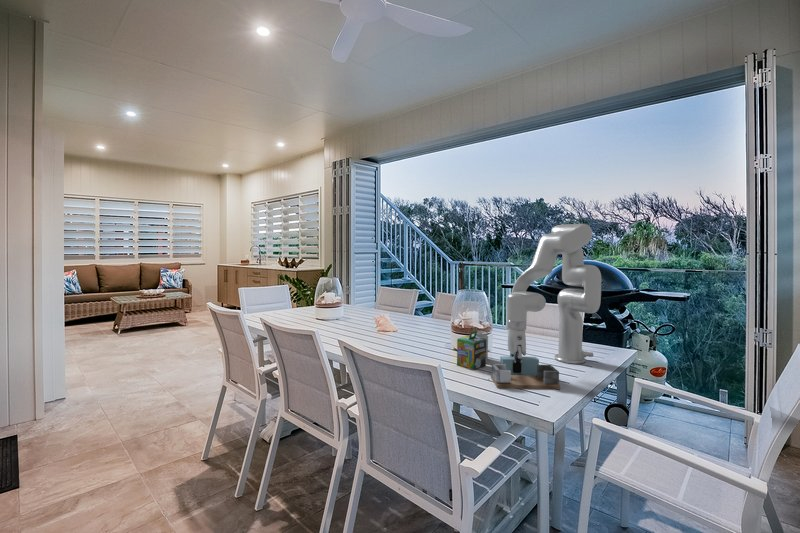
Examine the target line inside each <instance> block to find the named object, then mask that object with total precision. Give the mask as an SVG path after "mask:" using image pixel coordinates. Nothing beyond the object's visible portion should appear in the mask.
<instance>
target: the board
mask: <svg viewBox="0 0 800 533" xmlns="http://www.w3.org/2000/svg"><path fill="white" fill-rule="evenodd" d="M490 379H491V381H492V382H493V384H494V386H495V387H496V388H497V389H530V390H531V389H532V390H533V389H537V390H538V389H539V390H541V389H542V390H560V389H561V385H560V384H559V383H560V371H559V370H558V369H556V368H555V367H554V366H553V365H552V364H539V365H537V375H517V374H511V383H496V381H495V379H494V378H493V376H492V374H490Z"/></svg>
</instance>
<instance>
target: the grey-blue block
mask: <svg viewBox="0 0 800 533" xmlns="http://www.w3.org/2000/svg"><path fill="white" fill-rule="evenodd" d="M499 360H500V363H499V364H505V365H506V370H510V371H511V375H517V374H523V375H537V365H540V360H539V358H537V357H536V356H522V364H521V373H513V362H514V357H511V356H510V355H509V356H507V355H506V356H501V355H500V358H499Z"/></svg>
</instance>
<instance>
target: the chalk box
mask: <svg viewBox="0 0 800 533" xmlns="http://www.w3.org/2000/svg"><path fill="white" fill-rule="evenodd" d="M477 331H478V330H473V331H471V332H470V333H469V335H465V336H462V337H460V338H459V337H458V338H457V339H456V342H457V343H456V344H457V345H456V366H460V367H463V368H467V369H469V370H473V371H474V370H477V369H480V368H482V367H485V366H487V359H486V343H487V339H484V338H480V337H476V334H477ZM473 333H474V336H472V334H473Z"/></svg>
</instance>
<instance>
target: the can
mask: <svg viewBox="0 0 800 533" xmlns="http://www.w3.org/2000/svg"><path fill="white" fill-rule="evenodd" d="M472 336H474V333H473V334H472ZM476 337H480V338H484V339H487V343H486V360H487V359H488V358H489V336H488V334H487V332H486V331H483V330H477V334H476Z"/></svg>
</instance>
